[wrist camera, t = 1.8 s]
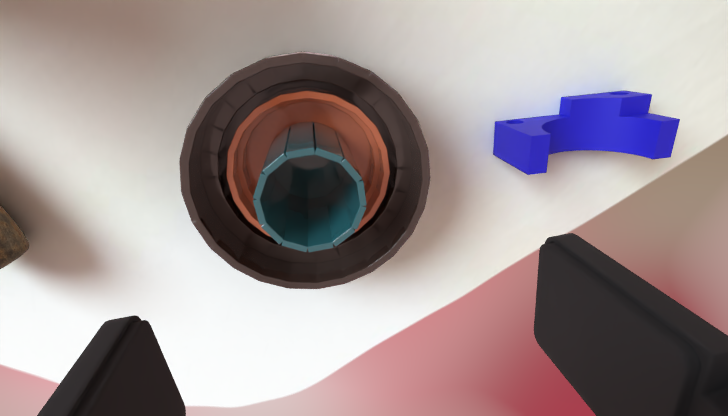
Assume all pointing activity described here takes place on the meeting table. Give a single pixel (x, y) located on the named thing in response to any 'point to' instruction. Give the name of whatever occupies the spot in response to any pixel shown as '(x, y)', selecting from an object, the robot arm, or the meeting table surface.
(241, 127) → the small bowl
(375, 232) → the large bowl
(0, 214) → the hollow wooden cylinder
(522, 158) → the blue pipe clamp
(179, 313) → the meeting table surface
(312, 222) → the cup
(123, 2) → the meeting table surface
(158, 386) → the robot arm
